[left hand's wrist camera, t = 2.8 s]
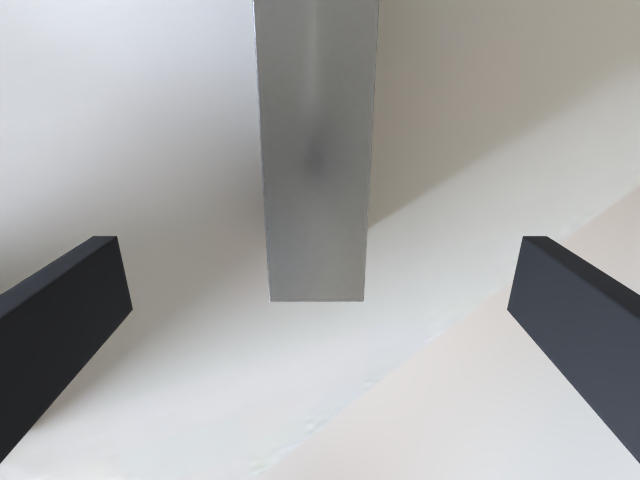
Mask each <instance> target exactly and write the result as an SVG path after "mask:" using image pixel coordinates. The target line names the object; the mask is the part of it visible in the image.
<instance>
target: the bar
mask: <svg viewBox="0 0 640 480" xmlns="http://www.w3.org/2000/svg"><path fill="white" fill-rule="evenodd" d="M378 9H379V0H253V15H254V33H255V50H256V68H257V86H258V103H259V121H260V139H261V156H262V174H263V192H264V210H265V227H266V245H267V263H268V280H269V298H270V301H271V302H272V301H364V284H365V264H366V244H367V225H368V205H369V185H370V166H371V146H372V127H373V107H374V87H375V68H376V48H377V29H378Z"/></svg>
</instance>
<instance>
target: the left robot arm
mask: <svg viewBox="0 0 640 480" xmlns="http://www.w3.org/2000/svg"><path fill="white" fill-rule="evenodd" d="M132 310H133V308H132V303H131V299H130V294H129V290H128V285H127V280H126V276H125V271H124V267H123V262H122V257H121V253H120V248H119V243H118V239H117V236H93V237H91V238H90V239H88V240H87V241H85V242H83V243H82V244H80V245H79V246H77V247H76V248H74V249H72V250H71V251H69V252H68V253H66V254H64V255H63V256H61V257H60V258H58V259H57V260H55V261H53V262H52V263H50V264H49V265H47V266H46V267H44V268H42V269H41V270H39V271H38V272H36V273H35V274H33V275H31V276H30V277H28V278H27V279H25V280H23V281H22V282H20V283H19V284H17V285H16V286H14V287H12V288H11V289H9V290H8V291H6V292H5V293H3V294H1V295H0V463H1V462H2V461H3V460H4V459H5V457H6V456H7V455H8V454H9V453H10V452H11V450H12V449H13V448H14V447H15V446H16V445H17V443H18V442H19V441H20V440H21V439H22V438H23V436H24V435H25V434H26V433H27V432H28V431H29V430H30V428H31V427H32V426H33V425H34V424H35V423H36V421H37V420H38V419H39V418H40V417H41V416H42V414H43V413H44V412H45V411H46V410H47V409H48V407H49V406H50V405H51V404H52V403H53V402H54V401H55V399H56V398H57V397H58V396H59V395H60V394H61V392H62V391H63V390H64V389H65V388H66V387H67V385H68V384H69V383H70V382H71V381H72V380H73V378H74V377H75V376H76V375H77V374H78V373H79V372H80V370H81V369H82V368H83V367H84V366H85V365H86V363H87V362H88V361H89V360H90V359H91V358H92V356H93V355H94V354H95V353H96V352H97V351H98V349H99V348H100V347H101V346H102V345H103V344H104V343H105V341H106V340H107V339H108V338H109V337H110V336H111V334H112V333H113V332H114V331H115V330H116V329H117V327H118V326H119V325H120V324H121V323H122V322H123V320H124V319H125V318H126V317H127V316H128V315H129V313H130V312H131V311H132ZM507 310H508V311H509V312H510V313H511V315H512V316H513V317H514V318H515V319H516V320H517V322H518V323H519V324H520V325H521V326H522V327H523V329H524V330H525V331H526V332H527V333H528V334H529V336H530V337H531V338H532V339H533V340H534V341H535V343H536V344H537V345H538V346H539V347H540V348H541V349H542V351H543V352H544V353H545V354H546V355H547V356H548V358H549V359H550V360H551V361H552V362H553V363H554V365H555V366H556V367H557V368H558V369H559V370H560V371H561V373H562V374H563V375H564V376H565V377H566V378H567V380H568V381H569V382H570V383H571V384H572V385H573V386H574V388H575V389H576V390H577V391H578V392H579V394H580V395H581V396H582V397H583V398H584V399H585V401H586V402H587V403H588V404H589V405H590V406H591V407H592V409H593V410H594V411H595V412H596V413H597V414H598V416H599V417H600V418H601V419H602V420H603V421H604V423H605V424H606V425H607V426H608V427H609V428H610V429H611V431H612V432H613V433H614V434H615V435H616V436H617V438H618V439H619V440H620V441H621V442H622V443H623V445H624V446H625V447H626V448H627V449H628V450H629V451H630V453H631V454H632V455H633V456H634V457H635V458H636V460H637V461H638V462H639V463H640V295H639V294H637V293H635V292H634V291H632V290H631V289H629V288H627V287H626V286H624V285H623V284H621V283H620V282H618V281H616V280H615V279H613V278H612V277H610V276H609V275H607V274H605V273H604V272H602V271H601V270H599V269H597V268H596V267H594V266H593V265H591V264H590V263H588V262H587V261H585V260H583V259H582V258H580V257H579V256H577V255H576V254H574V253H572V252H571V251H569V250H568V249H566V248H564V247H563V246H561V245H560V244H558V243H557V242H555V241H553V240H552V239H550V238H549V237H547V236H523V239H522V243H521V248H520V253H519V257H518V262H517V267H516V271H515V276H514V280H513V285H512V290H511V294H510V299H509V304H508V308H507Z"/></svg>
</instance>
